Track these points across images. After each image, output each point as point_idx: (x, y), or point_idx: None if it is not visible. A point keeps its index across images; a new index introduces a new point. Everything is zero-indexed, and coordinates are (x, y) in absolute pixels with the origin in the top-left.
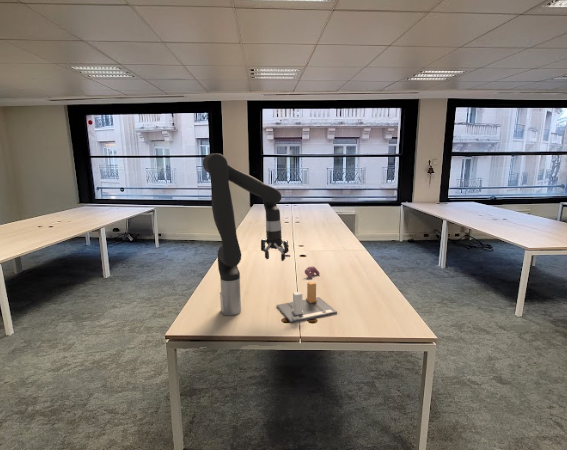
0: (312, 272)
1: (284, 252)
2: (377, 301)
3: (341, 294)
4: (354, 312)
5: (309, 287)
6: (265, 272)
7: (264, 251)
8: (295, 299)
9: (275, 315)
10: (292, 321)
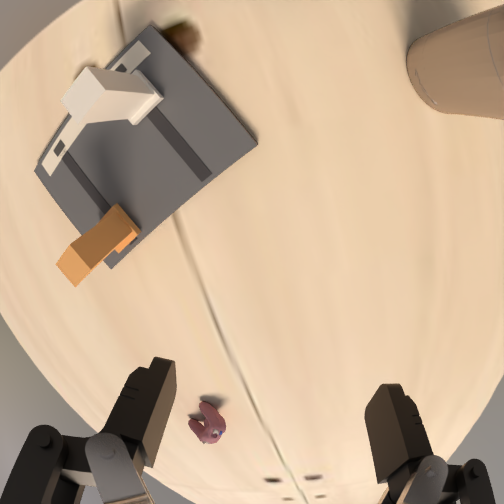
0: (207, 425)
1: (79, 450)
2: (6, 276)
3: (75, 308)
4: (13, 196)
5: (84, 240)
6: None
7: (443, 464)
8: (102, 69)
9: (237, 60)
10: (146, 30)
